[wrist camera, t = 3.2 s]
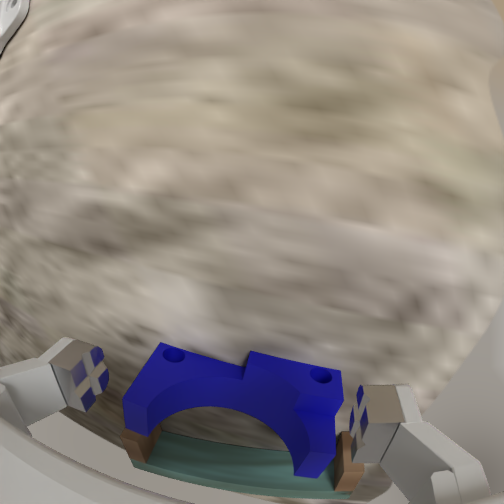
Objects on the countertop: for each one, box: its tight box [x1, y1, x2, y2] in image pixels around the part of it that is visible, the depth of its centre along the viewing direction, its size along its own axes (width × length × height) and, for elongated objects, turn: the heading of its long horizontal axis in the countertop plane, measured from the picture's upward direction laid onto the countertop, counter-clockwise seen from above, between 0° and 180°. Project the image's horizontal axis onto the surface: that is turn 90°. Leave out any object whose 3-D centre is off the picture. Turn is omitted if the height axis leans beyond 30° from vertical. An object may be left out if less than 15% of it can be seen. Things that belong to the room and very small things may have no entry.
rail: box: [120, 423, 365, 499], centre depth 21 cm, size 5×18×4 cm, turn 88°
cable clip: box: [122, 342, 344, 479], centre depth 17 cm, size 12×4×6 cm, turn 78°
